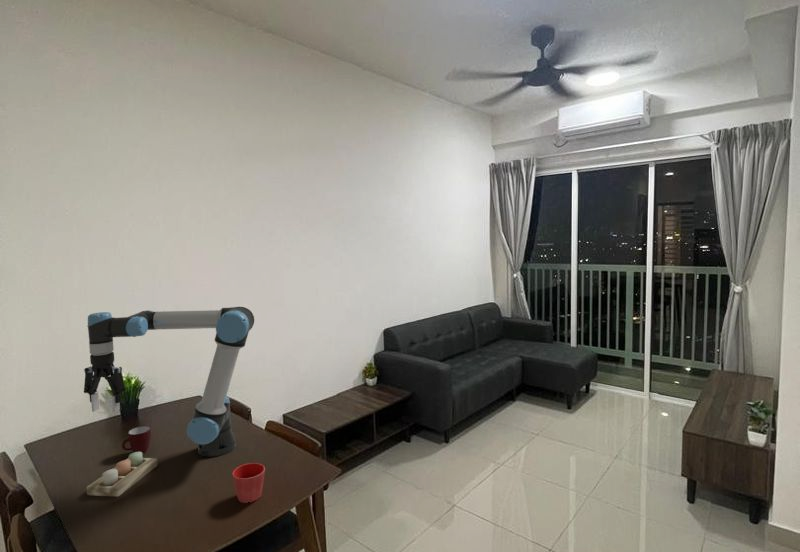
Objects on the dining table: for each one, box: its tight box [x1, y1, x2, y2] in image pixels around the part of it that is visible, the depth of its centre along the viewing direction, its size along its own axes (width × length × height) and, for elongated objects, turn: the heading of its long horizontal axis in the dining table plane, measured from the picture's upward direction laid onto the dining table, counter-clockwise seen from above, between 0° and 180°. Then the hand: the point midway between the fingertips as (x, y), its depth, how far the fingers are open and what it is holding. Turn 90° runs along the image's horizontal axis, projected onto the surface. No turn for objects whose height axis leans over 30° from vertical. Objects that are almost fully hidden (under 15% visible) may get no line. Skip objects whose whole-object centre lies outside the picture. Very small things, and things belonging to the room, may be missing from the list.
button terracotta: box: [115, 459, 131, 476], centre depth 161 cm, size 5×5×4 cm
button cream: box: [101, 468, 118, 486], centre depth 155 cm, size 5×5×4 cm
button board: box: [86, 457, 158, 498], centre depth 161 cm, size 12×21×3 cm, turn 175°
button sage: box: [128, 452, 144, 467], centre depth 168 cm, size 5×5×4 cm
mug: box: [121, 425, 152, 455], centre depth 181 cm, size 10×8×10 cm
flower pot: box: [231, 462, 266, 504], centre depth 149 cm, size 11×11×10 cm
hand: (106, 410), depth 164 cm, fingers open, 8 cm apart
